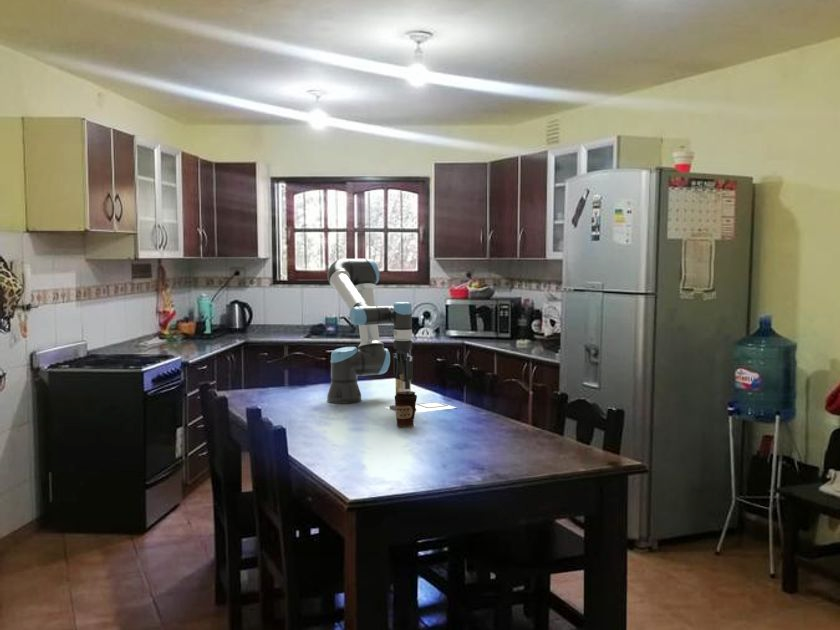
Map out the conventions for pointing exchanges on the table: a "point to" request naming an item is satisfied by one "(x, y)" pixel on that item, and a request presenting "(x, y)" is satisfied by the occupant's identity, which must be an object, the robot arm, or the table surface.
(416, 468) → the table surface
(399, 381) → the stamp
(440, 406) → the sheet
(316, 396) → the table surface
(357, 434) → the table surface
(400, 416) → the coffee cup
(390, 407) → the ink pad
